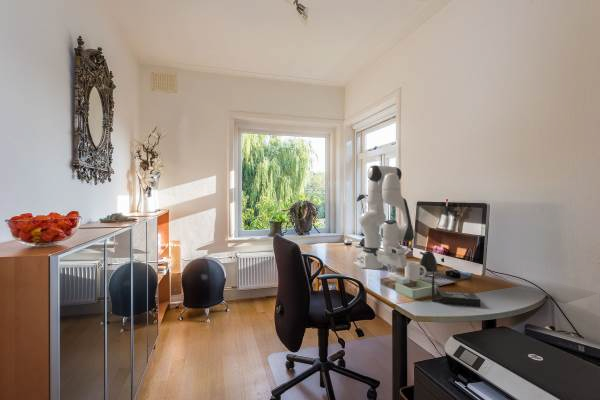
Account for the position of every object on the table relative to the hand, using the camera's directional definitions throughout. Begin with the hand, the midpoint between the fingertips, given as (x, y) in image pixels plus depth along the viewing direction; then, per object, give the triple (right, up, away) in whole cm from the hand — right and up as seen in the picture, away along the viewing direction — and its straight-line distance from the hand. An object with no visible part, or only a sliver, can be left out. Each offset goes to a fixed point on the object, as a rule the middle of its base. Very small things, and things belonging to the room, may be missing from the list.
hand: (391, 272), depth 167 cm
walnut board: (+2, -6, -6) cm, 9 cm away
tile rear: (+1, -3, -4) cm, 5 cm away
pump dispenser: (+28, -6, +14) cm, 32 cm away
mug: (+16, -6, +4) cm, 17 cm away
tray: (+7, -6, -18) cm, 20 cm away
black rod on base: (+21, -7, -28) cm, 36 cm away
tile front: (+3, -3, -9) cm, 10 cm away
